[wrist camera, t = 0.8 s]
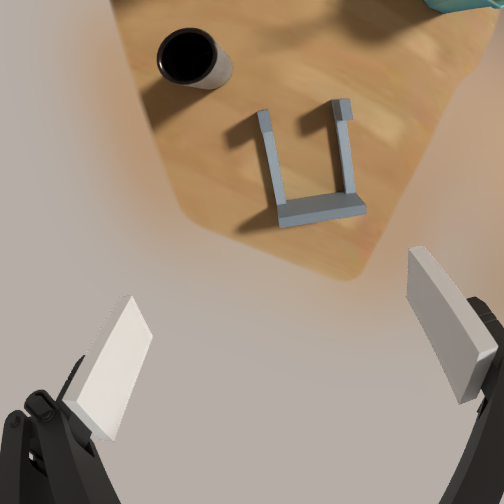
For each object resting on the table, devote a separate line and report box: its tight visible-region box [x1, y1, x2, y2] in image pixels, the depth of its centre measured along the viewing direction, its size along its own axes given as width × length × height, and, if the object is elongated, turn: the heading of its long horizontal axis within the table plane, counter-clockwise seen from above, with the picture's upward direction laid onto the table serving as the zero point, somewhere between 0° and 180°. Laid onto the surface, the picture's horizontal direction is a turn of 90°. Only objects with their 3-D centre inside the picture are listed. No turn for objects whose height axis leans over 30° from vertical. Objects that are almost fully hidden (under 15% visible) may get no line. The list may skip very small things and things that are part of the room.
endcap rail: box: [257, 99, 367, 228], centre depth 30 cm, size 11×8×5 cm
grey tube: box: [157, 28, 233, 89], centre depth 24 cm, size 4×4×10 cm
